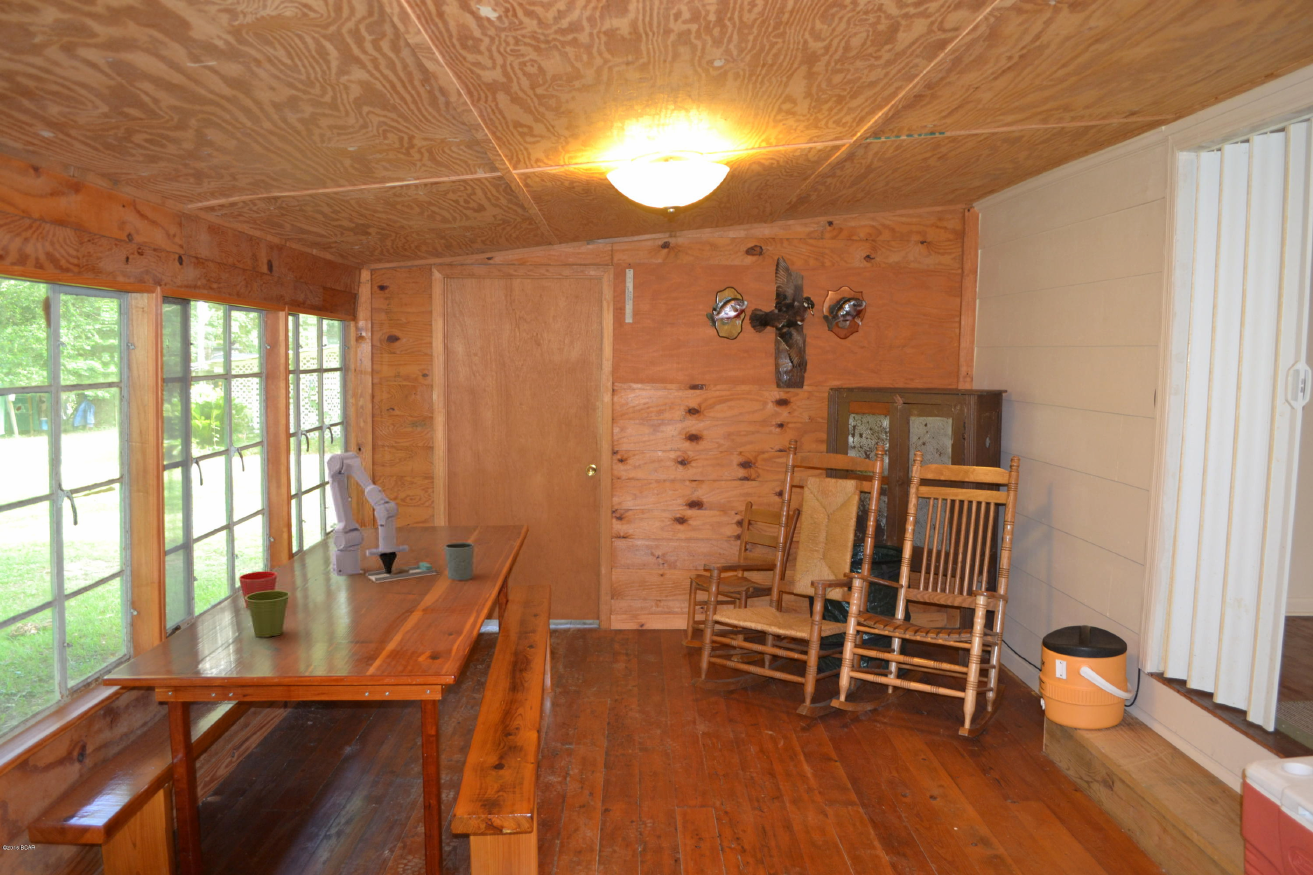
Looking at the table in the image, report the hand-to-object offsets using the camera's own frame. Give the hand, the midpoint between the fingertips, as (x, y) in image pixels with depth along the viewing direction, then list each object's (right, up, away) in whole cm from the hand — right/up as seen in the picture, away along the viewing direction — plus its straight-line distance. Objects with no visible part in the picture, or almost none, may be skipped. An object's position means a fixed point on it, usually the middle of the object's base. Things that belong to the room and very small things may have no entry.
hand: (388, 573), depth 314 cm
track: (+4, -1, +3) cm, 5 cm away
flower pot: (-30, -5, -35) cm, 46 cm away
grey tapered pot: (+26, -2, 0) cm, 26 cm away
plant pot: (-14, -8, -64) cm, 66 cm away
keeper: (+3, -1, +2) cm, 4 cm away
